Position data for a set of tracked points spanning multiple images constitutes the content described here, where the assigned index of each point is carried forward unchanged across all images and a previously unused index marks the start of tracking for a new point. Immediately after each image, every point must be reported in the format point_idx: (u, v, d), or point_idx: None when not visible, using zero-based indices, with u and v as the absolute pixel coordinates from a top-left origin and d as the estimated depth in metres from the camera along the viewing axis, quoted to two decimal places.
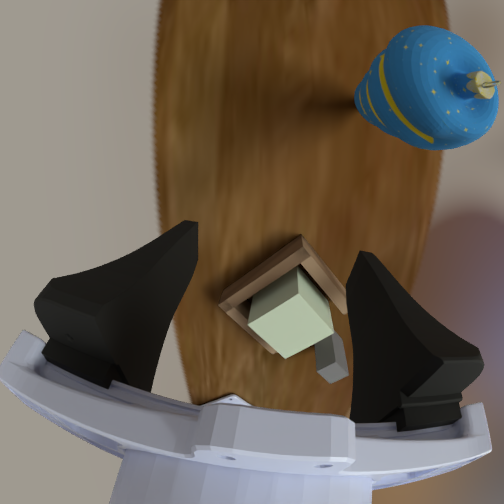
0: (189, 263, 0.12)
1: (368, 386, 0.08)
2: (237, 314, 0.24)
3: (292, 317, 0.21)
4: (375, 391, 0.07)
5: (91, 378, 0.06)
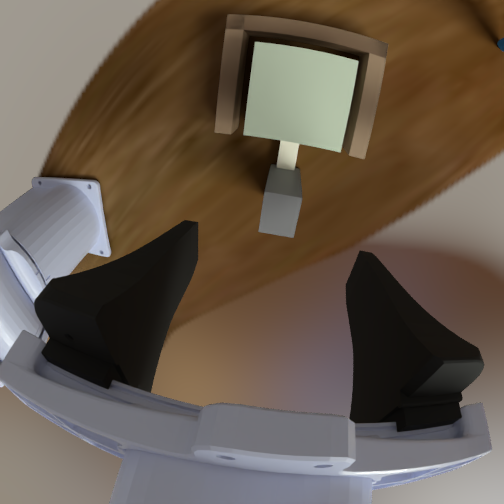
0: (189, 263, 0.12)
1: (368, 386, 0.08)
2: (236, 41, 0.12)
3: (320, 80, 0.11)
4: (375, 391, 0.07)
5: (91, 378, 0.06)
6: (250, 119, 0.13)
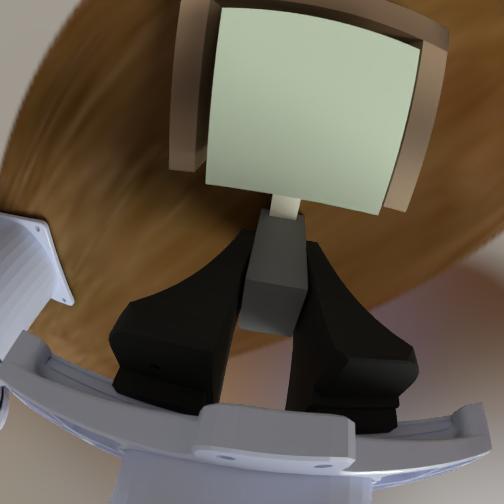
0: None
1: (296, 381, 0.08)
2: (198, 16, 0.06)
3: (350, 80, 0.05)
4: (300, 387, 0.07)
5: (182, 409, 0.06)
6: (216, 156, 0.07)
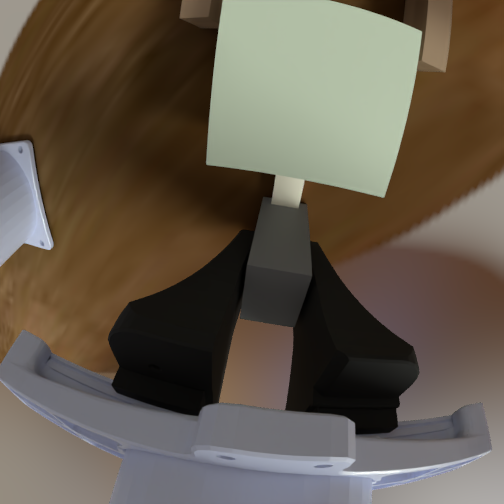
0: None
1: (297, 381, 0.08)
2: None
3: (353, 59, 0.05)
4: (300, 387, 0.07)
5: (182, 409, 0.06)
6: (217, 135, 0.07)
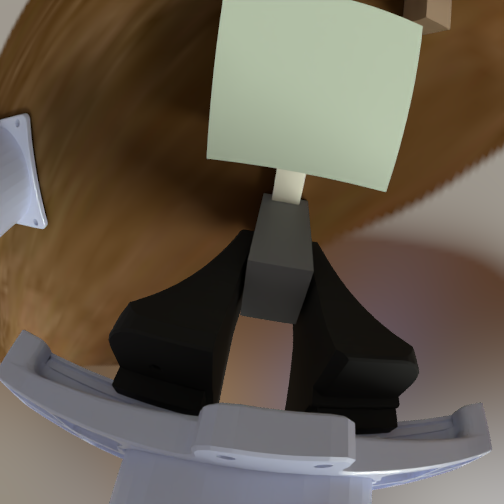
0: None
1: (296, 381, 0.08)
2: None
3: (354, 53, 0.05)
4: (300, 387, 0.07)
5: (182, 409, 0.06)
6: (218, 129, 0.07)
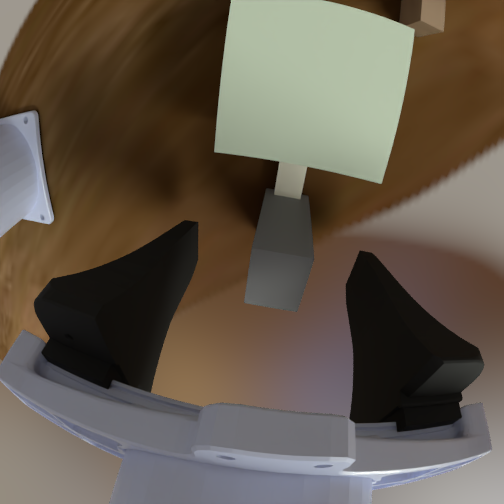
0: (189, 263, 0.12)
1: (368, 386, 0.08)
2: None
3: (351, 55, 0.06)
4: (375, 391, 0.07)
5: (91, 378, 0.06)
6: (225, 124, 0.07)
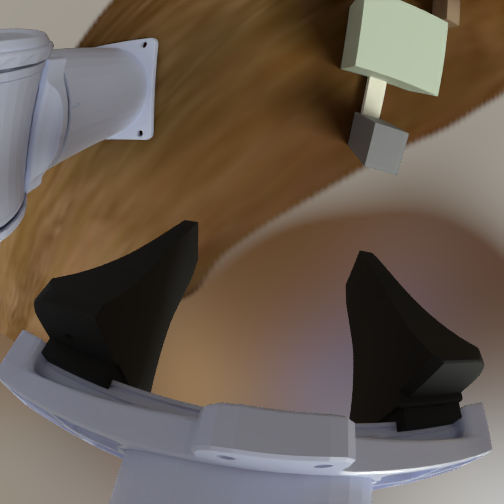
0: (189, 263, 0.12)
1: (368, 386, 0.08)
2: None
3: (420, 31, 0.09)
4: (375, 391, 0.07)
5: (91, 378, 0.06)
6: (362, 52, 0.10)
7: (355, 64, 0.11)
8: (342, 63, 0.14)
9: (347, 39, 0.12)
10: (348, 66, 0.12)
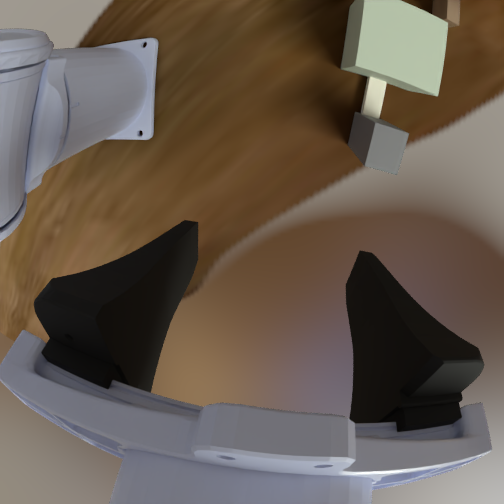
0: (189, 263, 0.12)
1: (368, 386, 0.08)
2: None
3: (420, 31, 0.09)
4: (375, 391, 0.07)
5: (91, 378, 0.06)
6: (362, 52, 0.10)
7: (355, 64, 0.11)
8: (342, 63, 0.14)
9: (347, 39, 0.12)
10: (348, 66, 0.12)
